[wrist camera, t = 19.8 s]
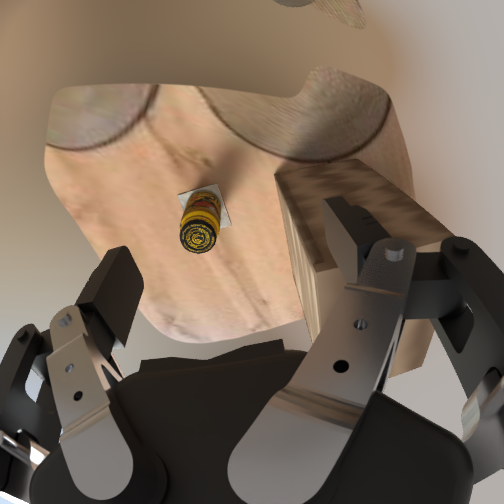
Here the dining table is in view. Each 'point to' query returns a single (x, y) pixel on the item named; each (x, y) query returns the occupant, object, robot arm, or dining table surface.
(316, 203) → the cubby
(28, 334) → the robot arm
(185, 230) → the condiment
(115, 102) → the dining table surface
